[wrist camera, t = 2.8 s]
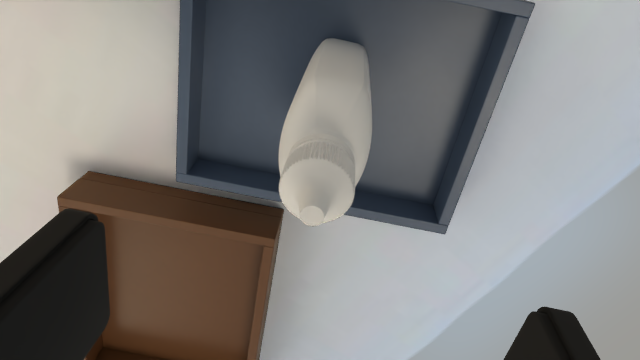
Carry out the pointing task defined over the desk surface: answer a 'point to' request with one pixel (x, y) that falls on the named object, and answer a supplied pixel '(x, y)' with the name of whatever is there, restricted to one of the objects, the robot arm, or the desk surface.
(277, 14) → the slate tray
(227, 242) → the walnut tray
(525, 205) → the desk surface
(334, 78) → the eye dropper bottle
